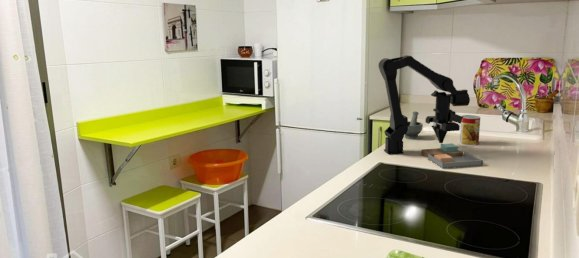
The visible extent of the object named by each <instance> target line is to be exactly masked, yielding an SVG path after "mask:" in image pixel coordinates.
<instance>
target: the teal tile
mask: <svg viewBox="0 0 579 258" xmlns="http://www.w3.org/2000/svg"><path fill="white" fill-rule="evenodd" d="M440 148H441V149H442V150H444V151H445V152H454V151H458V150H459V145H456V144H454V143H440Z"/></svg>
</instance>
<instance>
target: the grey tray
mask: <svg viewBox="0 0 579 258" xmlns="http://www.w3.org/2000/svg"><path fill="white" fill-rule="evenodd" d="M427 160H428V161H430V162H431V161H432V162H431V163H433V164H434V163H435V165H436V164H437V165H436V166H437V167H439V166H440V167H439V168H441V167H442V169H452V168H453V167H456V168H466V167H467V166H468V167H478V166H479V167H480V166H483V159H481V158H479V157H477V156H476V155H473V154H470V153H469V152H467V151H464V152H463V156H458V157H453V162H447V163H443V162H441V161H440V160H438V159H436V158H435V157H433V156H431V155H428V158H427ZM453 169H454V168H453Z"/></svg>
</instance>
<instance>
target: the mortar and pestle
mask: <svg viewBox="0 0 579 258" xmlns="http://www.w3.org/2000/svg"><path fill="white" fill-rule="evenodd" d="M418 115H419V112H418V111H415V110H414V111H412V116H411V119H410V121H408V125H409V127H408V131H407V133H406V134H405V135H404V138H405V139H407V140H418V139H419V134H421V133H422V130H423V123H422V122H419V121H418Z"/></svg>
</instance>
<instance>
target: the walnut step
mask: <svg viewBox="0 0 579 258" xmlns="http://www.w3.org/2000/svg"><path fill="white" fill-rule="evenodd" d="M420 153H421V155H422V156H423V157H426V158H427V159H428V155H431V156H433V157H434V155H439V154H447V155H449V156H451V157H458V156H464V152H463V151H461V150H459V149H458V151H454V152H445V151H444V150H442V149H441V147H438V148H436V147H435V148H428V149H427V148H426V149H421V151H420Z"/></svg>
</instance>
